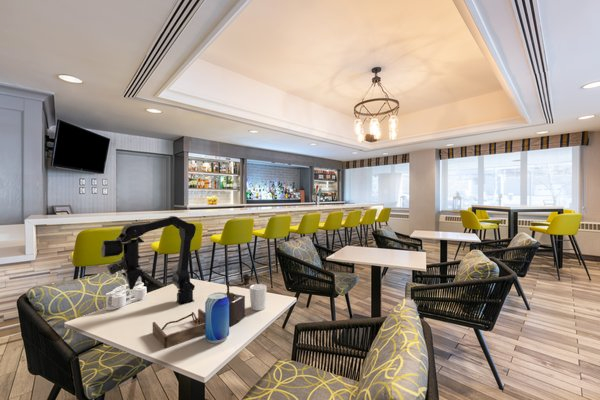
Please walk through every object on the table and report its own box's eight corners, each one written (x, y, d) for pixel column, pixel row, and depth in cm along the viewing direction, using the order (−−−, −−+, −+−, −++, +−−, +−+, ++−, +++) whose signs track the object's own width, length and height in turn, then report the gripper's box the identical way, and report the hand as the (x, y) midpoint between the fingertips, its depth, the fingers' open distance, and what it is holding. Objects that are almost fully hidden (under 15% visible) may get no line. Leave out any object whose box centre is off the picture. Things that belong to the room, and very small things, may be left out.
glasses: (205, 333, 105) (205, 320, 105) (168, 345, 97) (168, 331, 97) (193, 321, 115) (193, 309, 115) (160, 331, 107) (160, 318, 107)
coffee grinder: (231, 327, 108) (231, 283, 108) (210, 322, 113) (210, 279, 113) (253, 312, 123) (253, 273, 123) (233, 308, 127) (233, 270, 127)
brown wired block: (199, 318, 117) (199, 308, 117) (215, 330, 106) (215, 320, 106) (152, 332, 104) (152, 322, 104) (164, 348, 94) (164, 336, 94)
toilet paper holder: (113, 311, 124) (113, 295, 124) (98, 308, 128) (97, 292, 128) (152, 296, 142) (152, 283, 142) (137, 294, 147) (137, 280, 147)
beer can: (216, 347, 94) (216, 301, 94) (200, 340, 99) (200, 296, 99) (233, 336, 101) (233, 294, 101) (218, 330, 106) (218, 290, 106)
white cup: (246, 309, 126) (246, 288, 126) (255, 303, 133) (255, 283, 133) (261, 312, 123) (261, 290, 123) (269, 306, 130) (269, 285, 130)
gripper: (105, 253, 120) (105, 288, 120) (112, 260, 106) (112, 299, 106) (134, 249, 127) (134, 282, 127) (144, 256, 114) (144, 293, 114)
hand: (131, 289), depth 118 cm, fingers closed
